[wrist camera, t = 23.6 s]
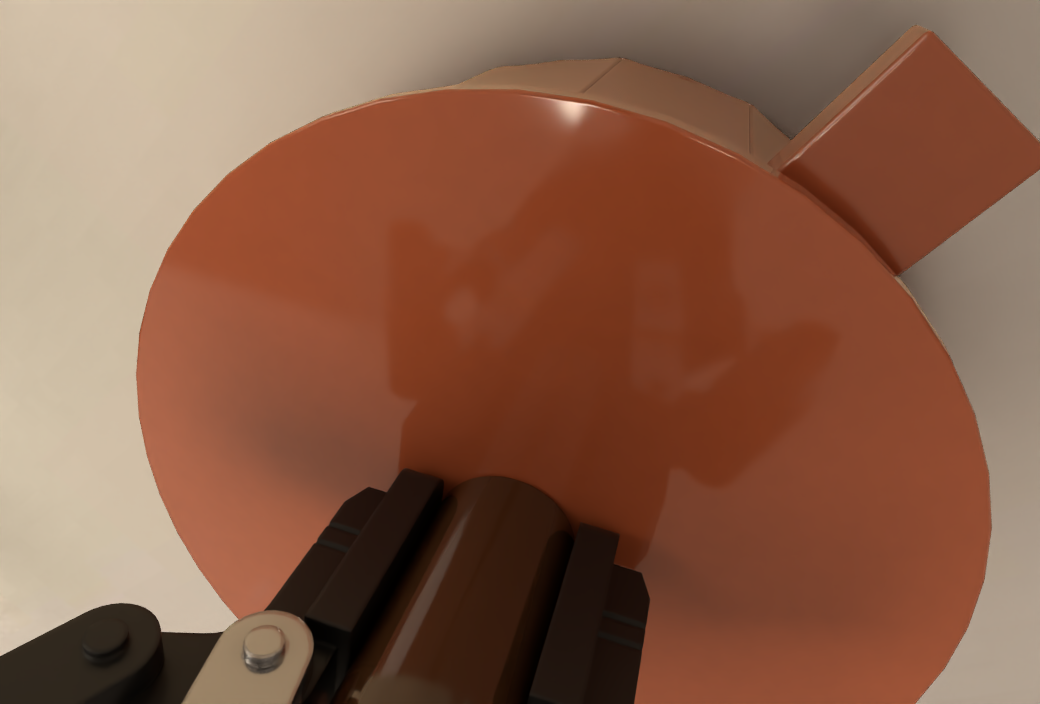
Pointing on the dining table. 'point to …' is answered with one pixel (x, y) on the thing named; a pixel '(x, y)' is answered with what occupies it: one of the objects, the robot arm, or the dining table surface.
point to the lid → (568, 400)
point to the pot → (849, 137)
